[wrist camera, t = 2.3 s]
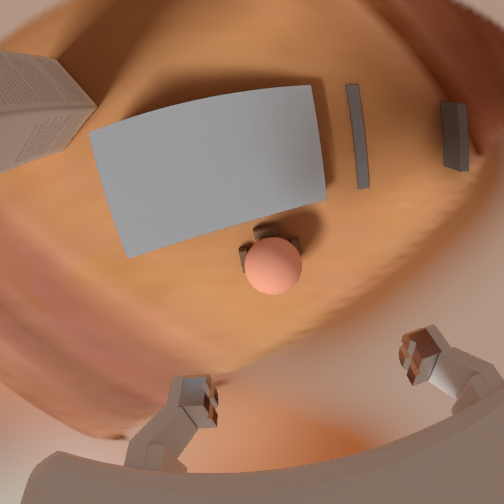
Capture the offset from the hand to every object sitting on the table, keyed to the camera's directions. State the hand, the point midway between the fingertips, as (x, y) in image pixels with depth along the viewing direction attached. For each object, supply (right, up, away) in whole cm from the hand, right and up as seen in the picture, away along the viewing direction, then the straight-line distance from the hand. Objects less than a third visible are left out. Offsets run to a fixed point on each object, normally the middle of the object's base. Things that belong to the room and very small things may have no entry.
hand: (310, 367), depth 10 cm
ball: (-1, +5, +9) cm, 10 cm away
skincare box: (-15, +15, +3) cm, 22 cm away
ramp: (-4, +10, +6) cm, 13 cm away
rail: (+12, +14, +5) cm, 19 cm away
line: (+5, +12, +6) cm, 14 cm away
